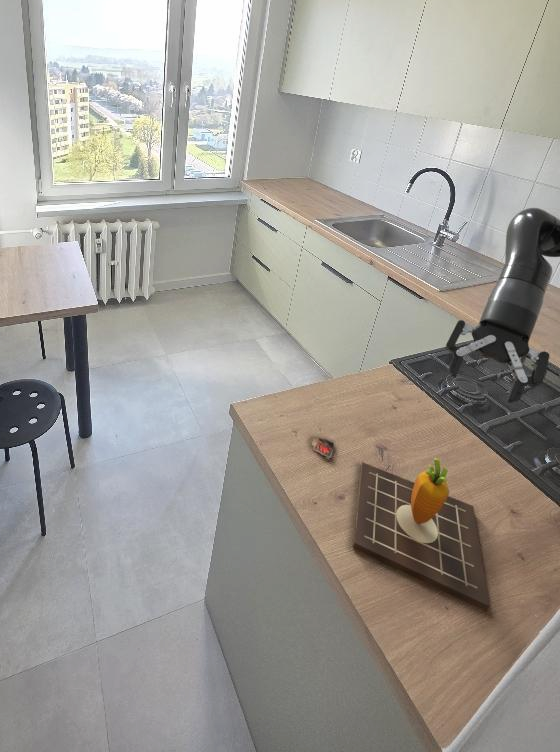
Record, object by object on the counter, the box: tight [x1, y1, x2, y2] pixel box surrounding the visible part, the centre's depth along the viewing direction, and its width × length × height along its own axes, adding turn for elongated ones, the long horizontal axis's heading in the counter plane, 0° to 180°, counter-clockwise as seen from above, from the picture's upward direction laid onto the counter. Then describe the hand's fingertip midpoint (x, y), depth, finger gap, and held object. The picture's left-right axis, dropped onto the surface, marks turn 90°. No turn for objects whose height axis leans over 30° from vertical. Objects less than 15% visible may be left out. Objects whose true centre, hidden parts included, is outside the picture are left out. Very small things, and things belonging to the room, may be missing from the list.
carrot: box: [411, 457, 450, 524], centre depth 74 cm, size 5×5×15 cm
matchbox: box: [311, 437, 335, 461], centre depth 92 cm, size 5×5×1 cm
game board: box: [352, 461, 491, 612], centre depth 77 cm, size 20×18×2 cm
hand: (480, 389), depth 74 cm, fingers open, 8 cm apart
